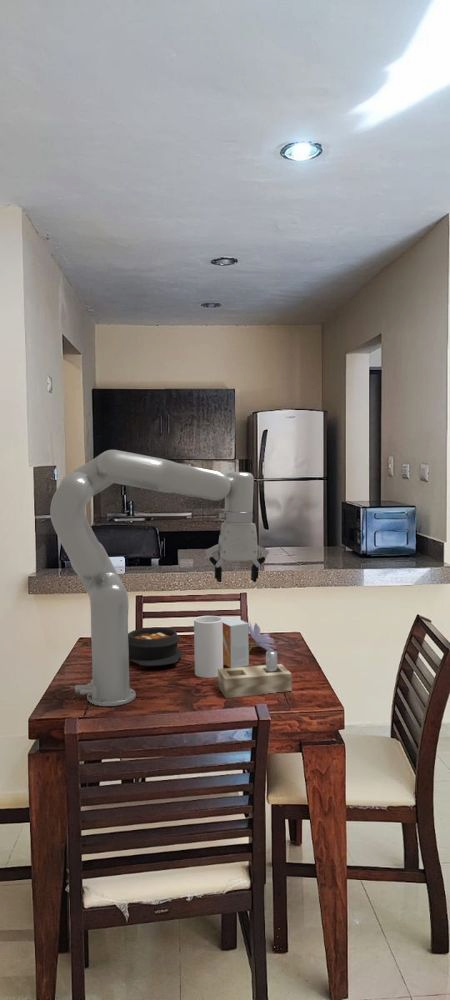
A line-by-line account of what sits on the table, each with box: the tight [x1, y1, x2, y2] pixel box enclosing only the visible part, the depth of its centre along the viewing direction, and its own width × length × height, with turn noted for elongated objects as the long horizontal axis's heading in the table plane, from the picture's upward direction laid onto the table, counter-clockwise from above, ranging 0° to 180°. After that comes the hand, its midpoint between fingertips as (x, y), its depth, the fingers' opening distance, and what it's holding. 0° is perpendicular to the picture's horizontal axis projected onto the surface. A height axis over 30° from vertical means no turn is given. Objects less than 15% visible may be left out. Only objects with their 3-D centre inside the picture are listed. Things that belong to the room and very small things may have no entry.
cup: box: [193, 615, 224, 679], centre depth 212 cm, size 8×8×16 cm
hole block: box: [217, 663, 293, 699], centre depth 198 cm, size 18×9×5 cm, turn 103°
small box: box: [222, 617, 250, 668], centre depth 221 cm, size 8×6×13 cm
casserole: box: [128, 627, 184, 667], centre depth 226 cm, size 25×19×8 cm
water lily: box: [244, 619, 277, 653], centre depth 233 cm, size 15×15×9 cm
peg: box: [265, 649, 278, 673], centre depth 198 cm, size 3×3×10 cm
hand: (236, 581), depth 198 cm, fingers open, 9 cm apart
